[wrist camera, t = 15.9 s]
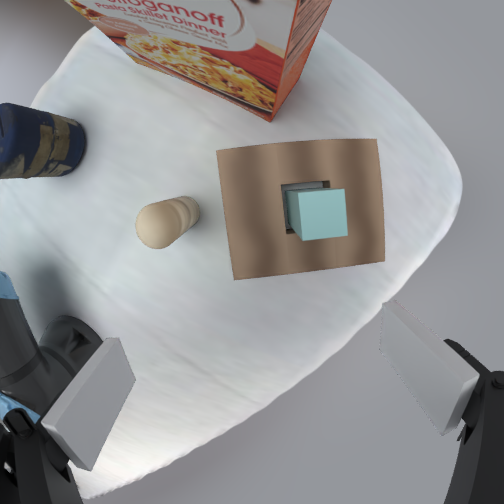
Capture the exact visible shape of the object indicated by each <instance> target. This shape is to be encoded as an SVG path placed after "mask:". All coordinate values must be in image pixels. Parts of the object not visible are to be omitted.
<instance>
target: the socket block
mask: <svg viewBox="0 0 504 504" xmlns="http://www.w3.org/2000/svg"><path fill="white" fill-rule="evenodd" d="M216 152H217V160H218V168H219V176H220V184H221V192H222V199H223V207H224V214H225V221H226V229H227V236H228V243H229V250H230V257H231V263H232V270H233V277H234V280H241V279H251V278H259V277H268V276H277V275H285V274H294V273H302V272H310V271H317V270H325V269H333V268H340V267H348V266H355V265H362V264H369V263H376V262H383V261H385V231H384V208H383V193H382V181H381V171H380V162H379V153H378V146H377V139H331V140H311V141H296V142H284V143H273V144H263V145H254V146H246V147H238V148H231V149H224V150H218V151H216ZM313 181H322V183H323V188H336V189H344V191H345V203H346V216H347V231H348V236H340V237H331V238H323V239H314V240H305V241H302V239H301V238H300V237H299V236H298V235H297V233H296V232H295V231H294V230H293V229H292V228H290V229H286V228H285V219H284V209H283V200H282V192H281V184H291V183H302V182H313Z"/></svg>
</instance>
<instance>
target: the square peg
mask: <svg viewBox="0 0 504 504" xmlns="http://www.w3.org/2000/svg"><path fill="white" fill-rule="evenodd" d="M285 199H286V208H287V217H288V224H289V225H290V226H291V227H292V229H293V230H294V231H295V232H296V233H297V235H298V236H299V237H300V238H301V239H302V241H305V240H314V239H323V238H331V237H340V236H348V231H347V216H346V203H345V191H344V189H336V188H307V189H296V190H286V191H285Z"/></svg>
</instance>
